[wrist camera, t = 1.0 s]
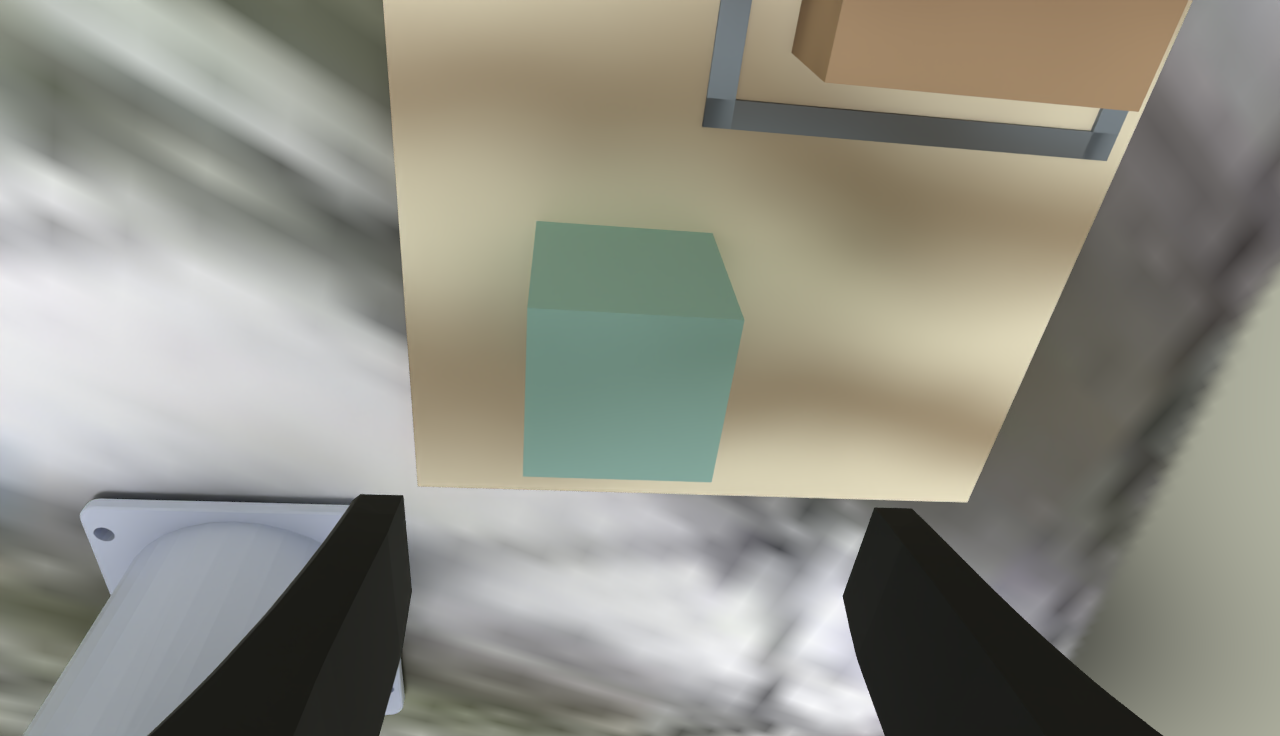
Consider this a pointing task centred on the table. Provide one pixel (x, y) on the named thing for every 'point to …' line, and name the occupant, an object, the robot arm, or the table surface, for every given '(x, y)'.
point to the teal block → (627, 353)
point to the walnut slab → (992, 47)
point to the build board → (734, 232)
